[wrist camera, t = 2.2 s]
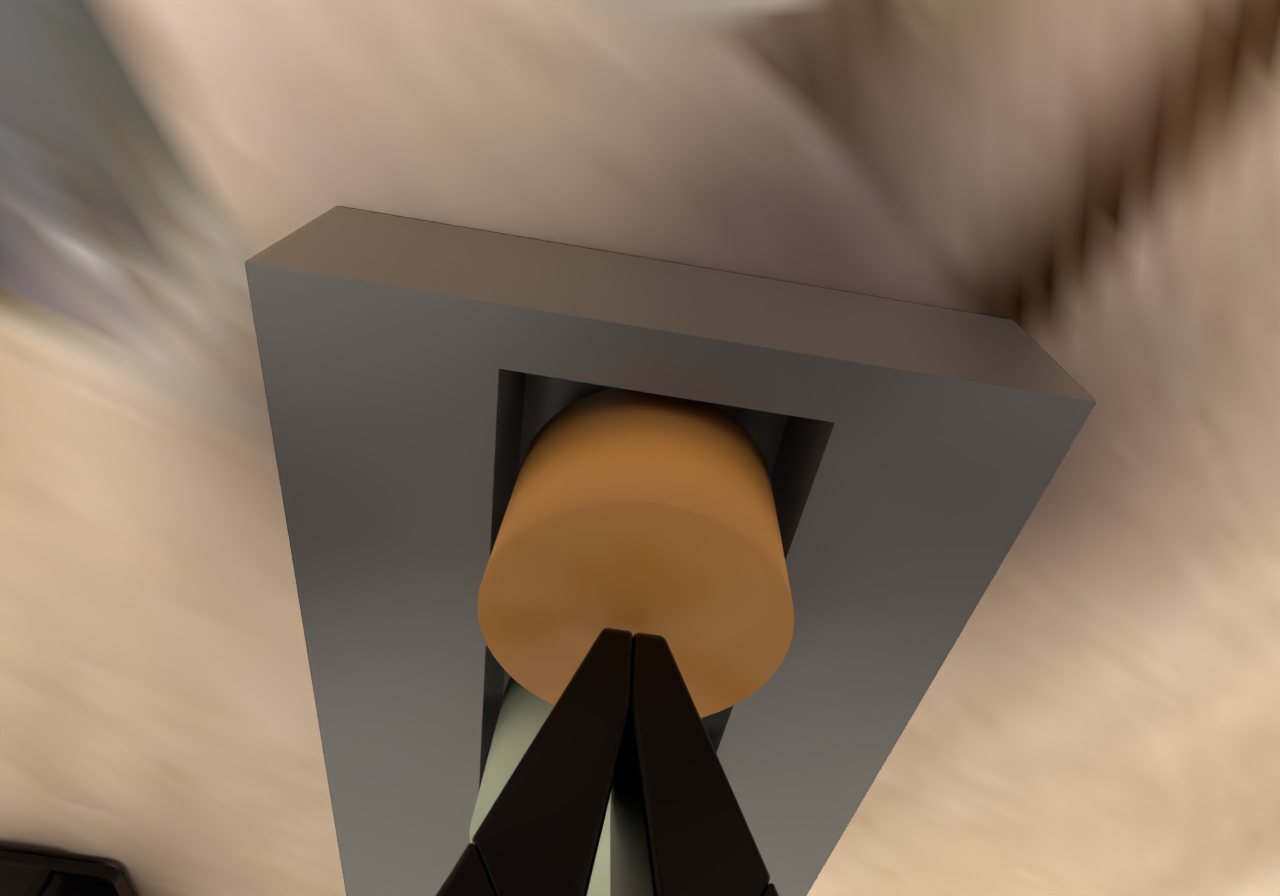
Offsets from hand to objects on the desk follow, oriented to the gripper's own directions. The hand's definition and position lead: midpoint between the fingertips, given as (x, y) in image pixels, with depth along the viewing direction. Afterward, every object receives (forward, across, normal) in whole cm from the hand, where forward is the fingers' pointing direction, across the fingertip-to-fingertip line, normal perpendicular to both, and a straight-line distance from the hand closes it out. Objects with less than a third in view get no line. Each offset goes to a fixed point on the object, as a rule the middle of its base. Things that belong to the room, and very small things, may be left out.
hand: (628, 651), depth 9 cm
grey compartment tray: (+6, 0, +6) cm, 8 cm away
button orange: (+3, 0, 0) cm, 3 cm away
